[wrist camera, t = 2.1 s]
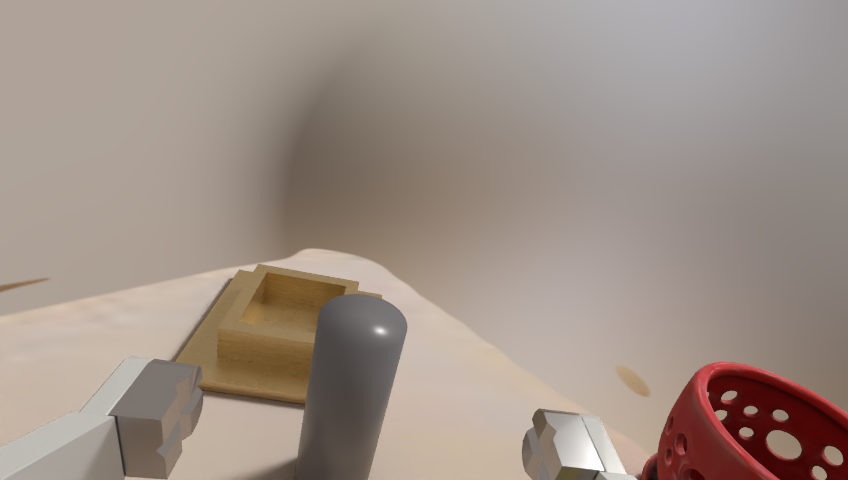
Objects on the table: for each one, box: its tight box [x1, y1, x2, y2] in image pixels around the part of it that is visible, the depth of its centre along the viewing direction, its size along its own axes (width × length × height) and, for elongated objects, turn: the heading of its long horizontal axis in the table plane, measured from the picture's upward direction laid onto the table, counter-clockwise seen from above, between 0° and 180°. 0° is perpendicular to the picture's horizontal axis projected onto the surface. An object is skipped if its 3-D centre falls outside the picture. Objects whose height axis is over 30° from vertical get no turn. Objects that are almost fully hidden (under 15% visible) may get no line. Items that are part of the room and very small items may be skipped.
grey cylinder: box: [294, 294, 407, 480], centre depth 27 cm, size 5×5×14 cm
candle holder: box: [175, 264, 382, 404], centre depth 41 cm, size 16×16×4 cm
